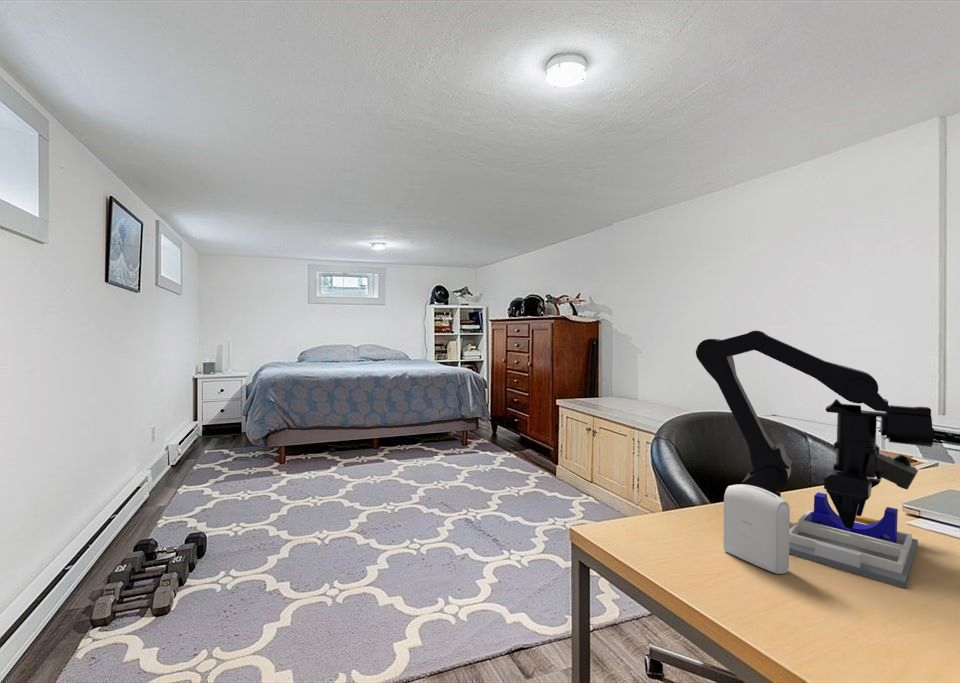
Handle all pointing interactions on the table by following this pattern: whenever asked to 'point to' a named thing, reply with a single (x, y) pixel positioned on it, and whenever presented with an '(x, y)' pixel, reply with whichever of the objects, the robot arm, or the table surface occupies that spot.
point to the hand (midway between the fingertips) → (853, 521)
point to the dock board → (854, 550)
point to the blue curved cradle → (876, 530)
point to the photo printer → (757, 527)
